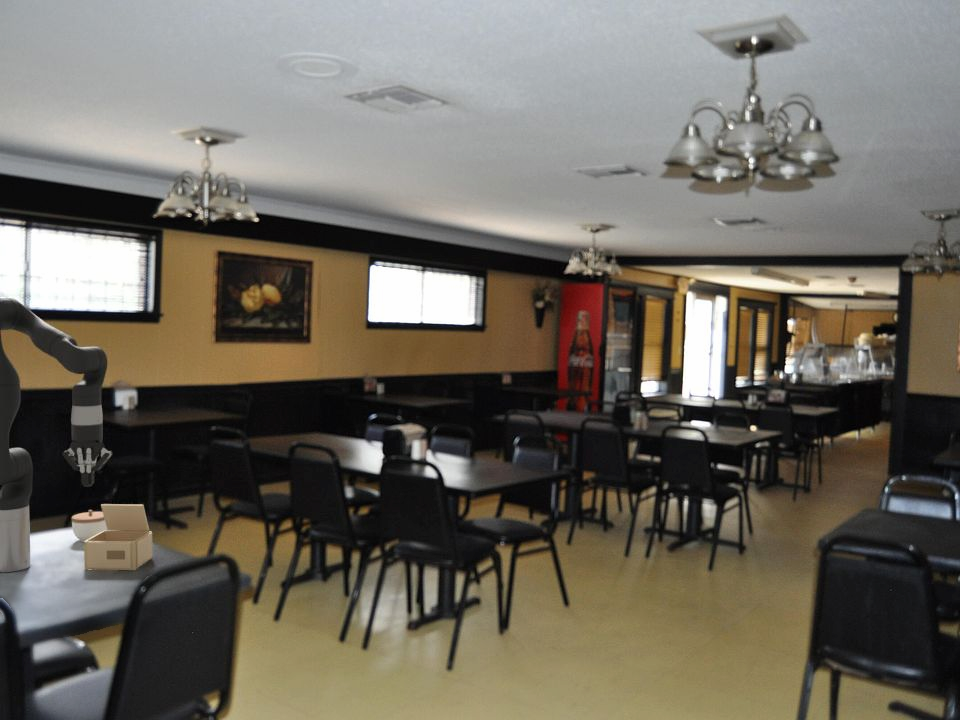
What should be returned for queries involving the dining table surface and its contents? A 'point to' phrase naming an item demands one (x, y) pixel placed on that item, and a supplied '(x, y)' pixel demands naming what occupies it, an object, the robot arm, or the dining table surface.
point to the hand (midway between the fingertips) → (87, 486)
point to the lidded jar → (88, 524)
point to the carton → (118, 550)
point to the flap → (125, 516)
